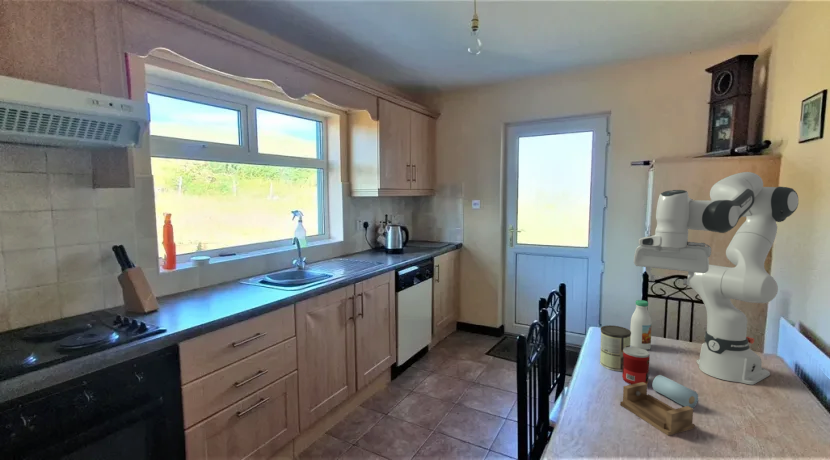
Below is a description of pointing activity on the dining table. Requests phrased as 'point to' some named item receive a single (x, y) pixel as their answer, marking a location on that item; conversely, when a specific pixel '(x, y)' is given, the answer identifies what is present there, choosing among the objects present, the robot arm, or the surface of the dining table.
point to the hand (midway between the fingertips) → (668, 282)
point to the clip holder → (656, 410)
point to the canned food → (635, 365)
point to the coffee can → (613, 346)
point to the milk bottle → (641, 326)
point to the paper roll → (675, 391)
